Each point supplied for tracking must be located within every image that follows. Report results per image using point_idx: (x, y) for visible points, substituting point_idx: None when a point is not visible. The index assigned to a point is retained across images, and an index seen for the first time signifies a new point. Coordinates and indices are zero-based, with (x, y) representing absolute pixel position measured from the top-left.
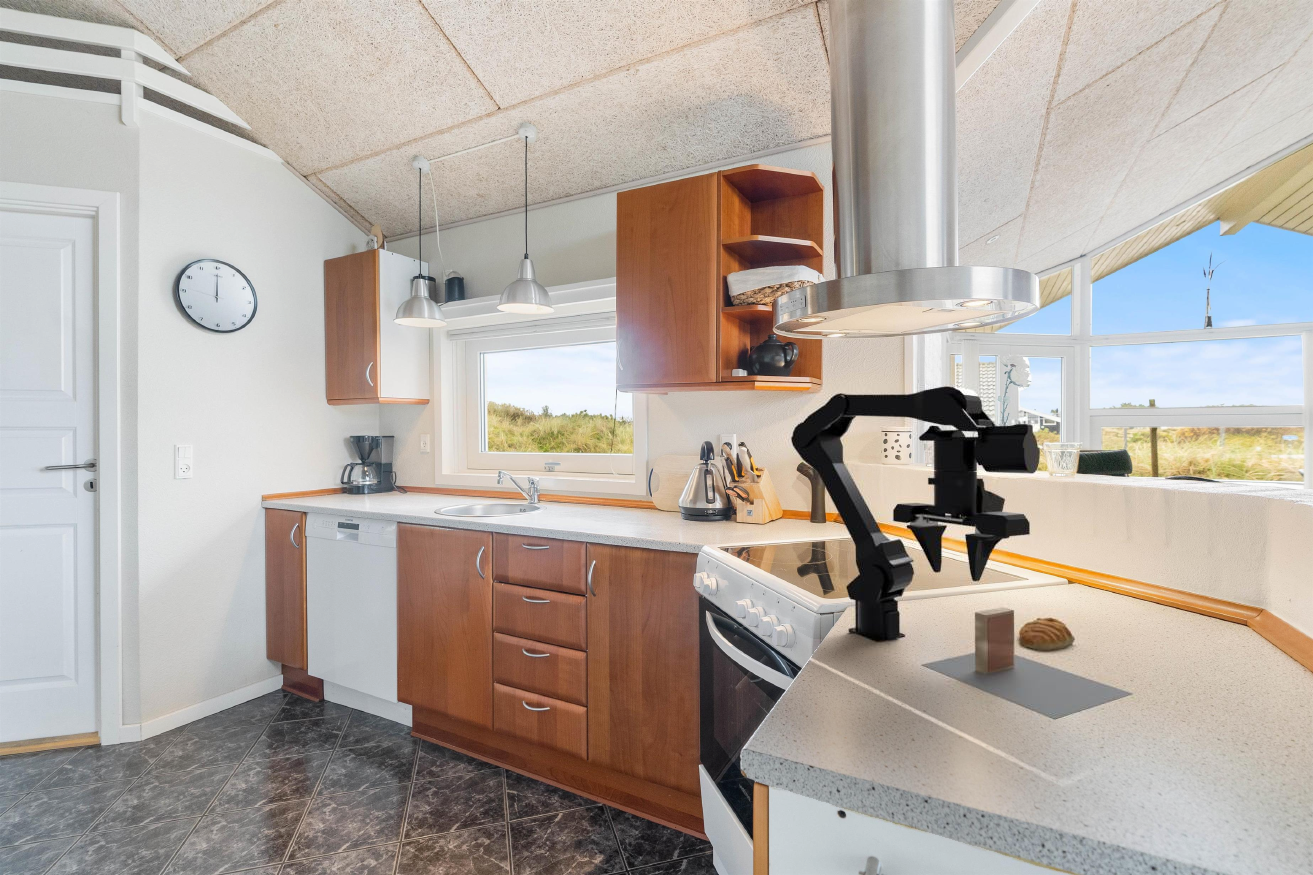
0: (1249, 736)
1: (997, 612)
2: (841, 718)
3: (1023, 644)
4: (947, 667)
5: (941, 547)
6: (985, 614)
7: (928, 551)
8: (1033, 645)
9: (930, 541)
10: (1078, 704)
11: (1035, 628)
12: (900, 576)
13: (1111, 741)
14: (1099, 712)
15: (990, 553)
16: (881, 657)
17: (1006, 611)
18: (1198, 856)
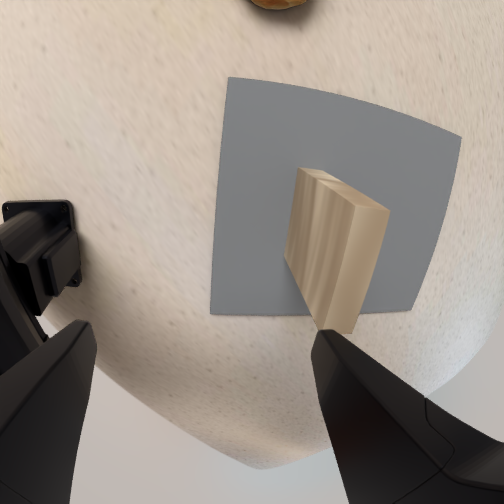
0: None
1: (365, 283)
2: (263, 439)
3: (257, 2)
4: (244, 286)
5: (16, 414)
6: (348, 328)
7: (72, 462)
8: (285, 6)
9: (48, 501)
10: (426, 245)
11: None
12: (24, 352)
13: (447, 295)
14: (440, 234)
15: (452, 419)
16: (143, 326)
17: (379, 248)
18: (459, 368)
